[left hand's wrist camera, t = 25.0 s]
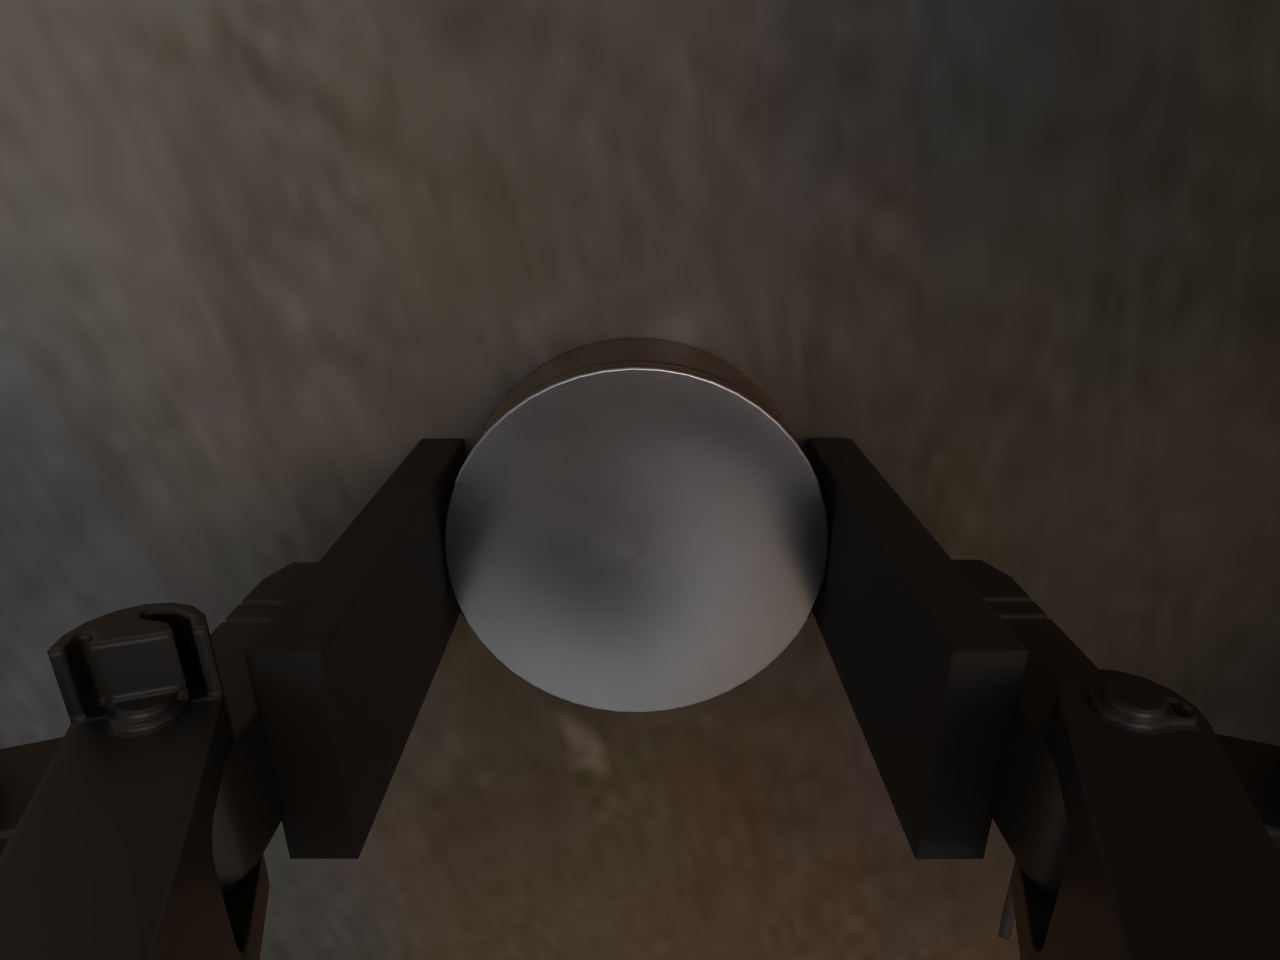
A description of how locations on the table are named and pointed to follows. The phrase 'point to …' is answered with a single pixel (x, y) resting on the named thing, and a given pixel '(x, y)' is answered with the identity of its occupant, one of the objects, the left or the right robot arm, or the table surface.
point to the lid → (636, 528)
